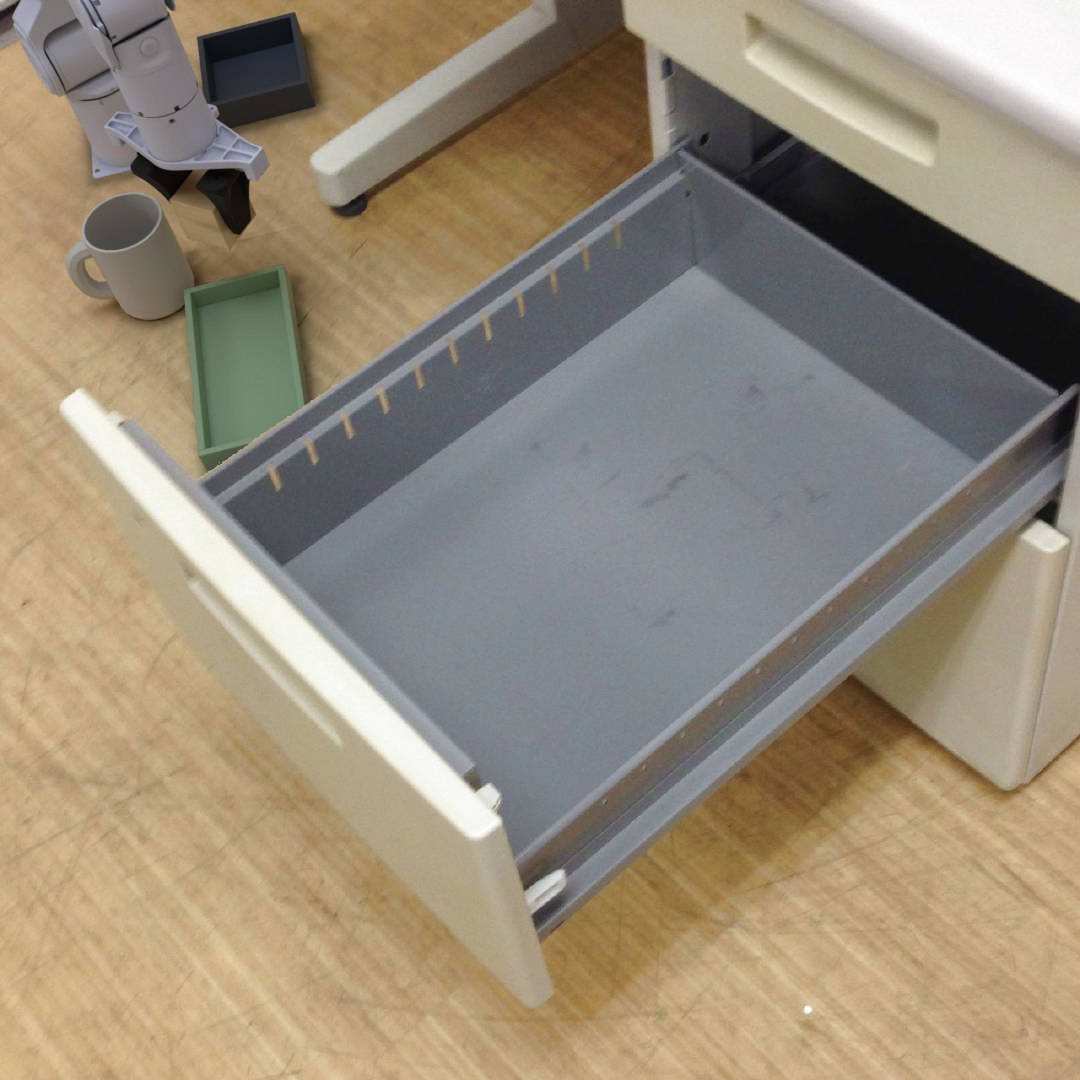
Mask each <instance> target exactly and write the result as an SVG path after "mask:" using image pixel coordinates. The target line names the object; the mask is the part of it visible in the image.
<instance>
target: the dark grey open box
mask: <svg viewBox="0 0 1080 1080" xmlns="http://www.w3.org/2000/svg"><path fill="white" fill-rule="evenodd" d="M196 41H197V42H196V43H197V50H198V59H199V60H198V61H199V69H200V77H201V85H202V92H203V95H204V97H205V100H206V102H207V104H210V105H215V106H216V107H217V109H218V111H219V116H218V117H217V118H216V119H217V120H218V121H220V122H221V123H223V124H224V125H225V126H227V127H228V128H230V129H233V128H237V127H242V126H245V125H249V124H252V123H257V122H261V121H265V120H269V119H273V118H277V117H280V116H284V115H288V114H289V115H290V114H291V113H296V112H299V111H303V110H308V109H311V108H316V101H315V94H314V89H313V84H312V78H311V71H310V67H309V66H310V65H309V61H308V56H307V51H306V43H305V39H304V35H303V31H302V29H301V26H300V23H299V20H298V16H297V13H296V12H295V11H291V12H288V13H285V14H281V15H276V16H273V17H268V18H265V19H261V20H257V21H253V22H250V23H249V22H248V23H245V24H242V25H237V26H234V27H230V28H226V29H223V30H218V31H215V32H210V33H207V34H202V35H198V36H196Z"/></svg>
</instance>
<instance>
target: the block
mask: <svg viewBox="0 0 1080 1080" xmlns="http://www.w3.org/2000/svg"><path fill="white" fill-rule="evenodd" d="M207 170H209V169H198V170H193V171H192V173H191V174H190V175H189V176H188V178H187V179H186V180H185V181H184V183H183V184H182V185H181V186H180V188H179V189H178V190H177V191H176V193H175V194H174V195H173V196H172V198H171V199H170V203H171V204H170V205H171V207H172V209H173V211H174V213H175V215H176V217H177V220H178V221H179V224H180V226H181V228H182V230H183V233H184V234H185V236H186V238H187V239H188V240H191V241H194V242H197V243H201V244H205V245H207V246H208V245H209V246H212V247H216V248H219V249H223V250H225V251H226V250H227V251H230V250H231V249H232V248H233V246H234V245H235V244H236V242H237V241H238V240H239V238H240V237H241V236H242V235H243V233H244V232H245V231H246V229H247V228H248V226H249V225H250V224H251V222H252V221H253V220H254V218H255V217H256V216H257V214H256V210H255V208H254V205H253V203H252V200H251V199H250V197H249V201H250V212H251V221H250V222H249V224H248V225H247V226H246V227H245V229H244V230H243V231H242V233H241V234H240V235H237V234H233V233H232V231H231V230H230V229H229V228H228V226H227V225H226V223H225V222H224V220H223V218H222V217H221V215H220V213H219V211H218V209H217V208H216V207H215V205H214V204H213V203H212V202H211V201H210V200H209V199H208V198H207V197H206V196H205V195H204V194H203V193H201V192H200V191H198V190H197V189H196V187H195V185H196V184H197V183H198V181H199V180H200V179H201V178H202V176H203V175H204V174H205V173H206V171H207Z"/></svg>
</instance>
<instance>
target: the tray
mask: <svg viewBox="0 0 1080 1080" xmlns="http://www.w3.org/2000/svg"><path fill="white" fill-rule="evenodd" d="M294 297H295V296H294V290H293V284H292V281H291V278H290V276H289V274H288V271H287V268H286V266H285V264H283V263H282V264H279V265H274V266H271V267H266V268H263V269H259V270H256V271H251V272H247V273H243V274H238V275H235V276H232V277H227V278H223V279H219V280H216V281H212V282H208V283H204V284H199V285H195V286H194V287H192V288H188V289H184V301H185V304H184V310H185V312H184V313H185V321H186V322H185V323H186V333H187V341H188V342H187V344H188V355H189V365H190V375H191V387H192V398H193V408H194V419H195V430H196V442H197V451H198V457H199V459H200V461H201V463H202V465H203V466H204V468H205V470H206V472H207V473H208V471H210V470H212V469H214V468H215V467H216V466H217V465H220V464H222V462H223V461H225V460H227V459H228V458H229V457H231V456H232V455H233V454H236V453H237V452H238V450H240V449H243V448H244V447H245V446H247V445H248V444H249V443H251V442H252V441H253V440H254V439H255V438H258V437H259V436H260V435H261V434H262V433H264V432H266V431H268V430H269V429H270V428H271V427H274V426H276V424H277V423H279V422H281V421H282V420H284V419H285V418H287V416H291V415H292V414H293V413H295V412H296V411H297V410H299V409H301V408H302V407H303V406H304V405H306V404H308V403H309V404H310V398H309V392H308V385H307V377H306V371H305V365H304V358H303V351H302V346H301V345H302V343H301V337H300V331H299V325H298V324H299V323H298V318H297V317H298V316H297V310H296V305H295V304H296V303H295V298H294ZM219 462H220V463H219Z"/></svg>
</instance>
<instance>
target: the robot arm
mask: <svg viewBox="0 0 1080 1080" xmlns="http://www.w3.org/2000/svg"><path fill="white" fill-rule="evenodd" d="M167 8H168V9H169V10H170V11H172V12H176V10H177V6H176V2H175V0H20V1H19V3H18V4H17V6H16V8H15V10H14V12H13V14H12V17H11V19H12V21H13V28H14V30H15V32H16V34H17V35H18V38H19V40H20V44H21V47H22V50H23V52H24V54H25V55H26V57H27V59H28V61H29V62H30V64H31V67H32V69H33V70H34V71H35V73H36V75H37V76H38V77H39V79H40V81H41V82H42V84H43V85H44V87H45V88H46V89H47V91H48V92H49V93H50V94H52V95H53V96H54V95H55V96H57V97H58V98H62V97H63V96H65V97H66V99H67V101H68V103H69V105H70V107H71V109H72V111H73V113H74V115H75V117H76V118H77V119H76V120H77V121H78V122H79V124H80V127H81V129H82V130H83V133H84V134H85V136H86V138H87V140H88V142H89V144H90V146H91V147H90V148H91V167H92V169H91V170H92V177H93V179H95V180H98V179H102V178H106V177H111V176H114V175H118V174H122V173H126V172H130V171H131V172H132V175H134V176H136V177H138V178H139V179H141V180H142V181H144V182H145V183H147V184H148V185H150V186H151V187H153V188H154V189H155V190H156V191H157V192H158V193H159V194H161V196H162V197H163V198H164V199H165V200H166V201H167V202H168V203H170V199H171V198H172V196H173V195H174V194H175V193H176V191H177V190H178V189H179V188H180V186H181V185H182V184H183V183H184V181H185V180H186V179H187V178H188V176H189V175H190V174H191V173H192V171H193V170H198V169H209V170H207V171H206V173H205V174H204V175H203V176H202V178H201V179H200V180H199V181H198V183H197V184H196V185H195V187H196V189H197V190H198V191H200V192H201V193H203V194H204V195H205V196H206V197H207V198H208V199H209V200H210V201H211V202H212V203H213V204H214V205H215V207H216V208H217V209H218V211H219V213H220V215H221V217H222V218H223V220H224V222H225V223H226V225H227V226H228V228H229V229H230V230H231V231H232V233H233V234H237V235H240V234H241V233H242V231H243V230H244V229H245V227H246V226H247V225H248V224H249V222H250V221H251V212H250V201H251V200H250V201H249V198H250V183H251V181H254V182H258V181H260V179H261V178H262V176H263V175H264V174H265V173H266V171H267V170H268V168H269V167H270V161H269V159H268V157H267V154H266V151H265V148H264V147H263V146H261V145H258V144H255V143H252V142H251V141H248V140H247V139H246V138H244V137H242V136H241V135H239V134H238V133H237V132H235V130H232V128H228V127H227V126H225V125H224V124H223V123H221V122H220V121H218V120H217V119H216V118H217V117H218V116H219V111H218V109H217V107H216V106H215V105H210V104H207V102H206V100H205V97H204V95H203V89H202V88H201V86H200V83H199V81H198V78H197V76H196V73H195V71H194V69H193V66H192V63H191V60H190V58H189V57H188V55H187V52H186V49H185V47H184V45H183V42H182V40H181V38H180V35H179V32H178V30H177V28H176V26H175V24H174V21H173V18H172V16H171V13H170V12H169V10H168V9H167ZM170 205H171V203H170ZM251 222H252V221H251ZM251 222H250V223H251ZM249 225H250V224H249ZM249 225H248V226H249ZM248 226H247V227H248ZM245 230H246V229H245ZM245 230H244V231H245ZM242 234H243V233H242ZM242 234H241V235H242Z"/></svg>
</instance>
